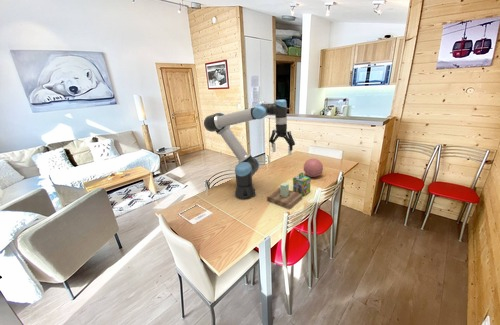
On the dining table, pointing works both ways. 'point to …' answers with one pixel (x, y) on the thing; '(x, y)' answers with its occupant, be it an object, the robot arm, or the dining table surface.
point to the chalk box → (301, 184)
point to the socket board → (284, 199)
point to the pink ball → (313, 167)
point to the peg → (284, 190)
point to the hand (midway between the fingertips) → (281, 153)
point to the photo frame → (199, 217)
